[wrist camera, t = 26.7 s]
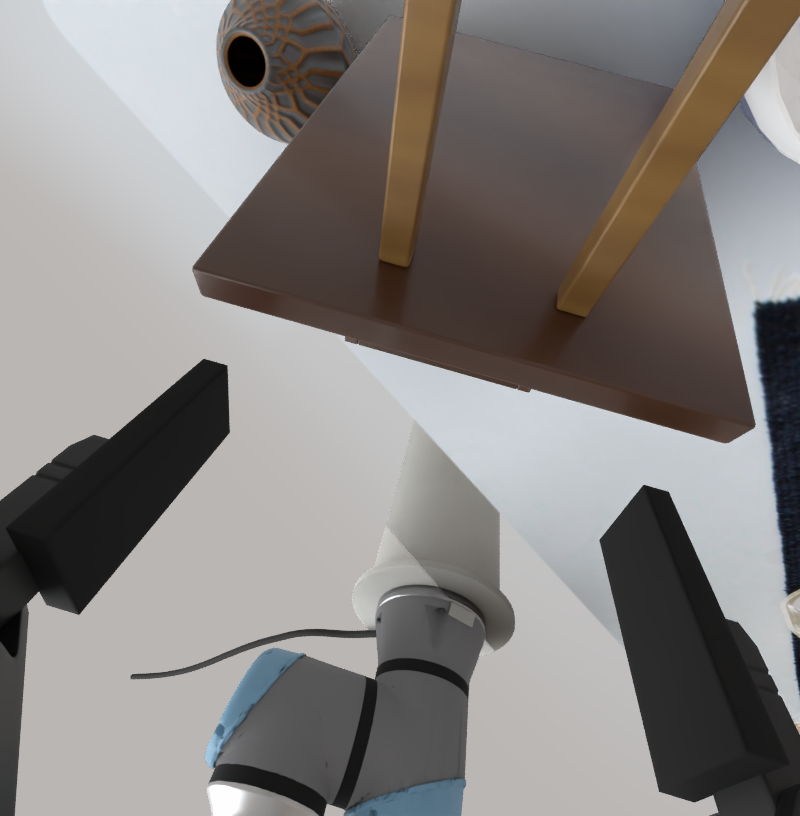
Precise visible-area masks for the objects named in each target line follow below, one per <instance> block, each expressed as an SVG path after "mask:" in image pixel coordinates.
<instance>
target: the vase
mask: <svg viewBox="0 0 800 816" xmlns="http://www.w3.org/2000/svg"><path fill="white" fill-rule="evenodd" d="M355 59H356V56H355V51H354V48H353V44H352V41H351V38H350V36H349V33H348V31H347V29H346V27H345V25H344V23H343V21H342V20H341V18H340V17H339V15H338V14H337V12H336V11H335V10H334V9H333V7H332V6H331V5H330V4H329V3H328V2H327V1H326V0H231V1H230V3H229V4H228V6H227V7H226V9H225V11H224V13H223V15H222V18H221V21H220V24H219V29H218V34H217V61H218V67H219V72H220V76H221V79H222V82H223V85H224V87H225V90H226V92H227V94H228V96H229V98H230V100H231V101H232V103H233V105H234V106H235V108H236V109H237V110H238V112H239V113H240V114H241V115H242V117H243V118H244V119H245V120H246V121H247V122H248V123H249V124H251V125H252V126H253V127H254V128H255V129H257V130H258V131H259V132H261V133H263V134H264V135H266V136H268V137H270V138H272V139H274V140H277V141H279V142H283V143H287V144H289V143H290V142H291V141H292V139H293V138H294V137H295V136H296V134H297V133H298V132H299V130H300V129H301V128H302V127H303V125H304V124H305V123H306V122H307V120H308V119H309V118H310V116H311V115H312V114H313V113H314V111H315V110H316V109H317V108H318V106H319V105H320V104H321V102H322V101H323V100H324V99H325V97H326V96H327V95H328V93H329V92H330V91H331V90H332V88H333V87H334V86H335V85H336V83H337V82H338V81H339V79H340V78H341V77H342V76H343V74H344V73H345V72H346V70H347V69H348V68H349V67H350V65H351V64H352V63H353V62H354V60H355Z"/></svg>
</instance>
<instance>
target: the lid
mask: <svg viewBox="0 0 800 816" xmlns="http://www.w3.org/2000/svg"><path fill="white" fill-rule="evenodd" d="M461 1H462V0H405V1H404V11H403V18H400V17H396V16H392V15H390V16H389V17H388V18H387V19H386V21H385V22H384V23H383V25H382V26H381V27H380V28H379V30H378V31H377V32H376V33H375V35H374V36H373V37H372V39H371V40H370V41H369V42H368V44H367V45H366V46H365V48H364V49H363V50H362V51H361V53H360V54H359V55H358V56H357V58H356V59H355V60H354V62H353V63H352V64H351V65H350V67H349V68H348V69H347V70H346V72H345V73H344V74H343V76H342V77H341V78H340V79H339V81H338V82H337V83H336V85H335V86H334V87H333V88H332V90H331V91H330V92H329V93H328V95H327V96H326V97H325V99H324V100H323V101H322V102H321V104H320V105H319V106H318V108H317V109H316V110H315V111H314V113H313V114H312V115H311V116H310V118H309V119H308V120H307V122H306V123H305V124H304V125H303V127H302V128H301V129H300V130H299V132H298V133H297V134H296V136H295V137H294V138H293V139H292V141H291V142H290V143H289V145H288V146H287V147H286V148H285V150H284V151H283V152H282V153H281V155H280V156H279V157H278V159H277V160H276V161H275V162H274V164H273V165H272V166H271V167H270V169H269V170H268V171H267V173H266V174H265V175H264V176H263V178H262V179H261V180H260V182H259V183H258V184H257V185H256V187H255V188H254V189H253V190H252V192H251V193H250V194H249V196H248V197H247V198H246V199H245V201H244V202H243V203H242V204H241V206H240V207H239V208H238V210H237V211H236V212H235V213H234V215H233V216H232V217H231V219H230V220H229V221H228V222H227V224H226V225H225V226H224V228H223V229H222V230H221V231H220V233H219V234H218V235H217V236H216V238H215V239H214V240H213V241H212V243H211V244H210V245H209V247H208V248H207V249H206V250H205V252H204V253H203V254H202V256H201V257H200V258H199V259H198V261H197V262H196V263H195V264H194V266H193V273H194V276H195V278H196V281H197V284H198V287H199V290H200V292H201V294H202V295H203V296H205V297H209V298H212V299H216V300H219V301H223V302H226V303H230V304H233V305H237V306H240V307H244V308H247V309H251V310H255V311H258V312H262V313H265V314H269V315H272V316H276V317H279V318H283V319H286V320H290V321H294V322H297V323H300V324H304V325H308V326H311V327H315V328H318V329H322V330H325V331H329V332H332V333H336V334H339V335H343V336H346V337H350V338H353V339H357V340H361V341H364V342H368V343H371V344H375V345H378V346H382V347H385V348H389V349H392V350H396V351H399V352H403V353H407V354H410V355H414V356H417V357H421V358H424V359H428V360H431V361H435V362H438V363H442V364H445V365H449V366H452V367H456V368H460V369H463V370H467V371H470V372H474V373H477V374H481V375H484V376H488V377H491V378H495V379H498V380H502V381H505V382H509V383H513V384H516V385H520V386H523V387H527V388H530V389H534V390H537V391H541V392H544V393H548V394H551V395H555V396H558V397H562V398H566V399H569V400H573V401H576V402H580V403H583V404H587V405H590V406H594V407H597V408H601V409H604V410H608V411H611V412H615V413H619V414H622V415H626V416H629V417H633V418H636V419H640V420H643V421H647V422H650V423H654V424H657V425H661V426H665V427H668V428H672V429H675V430H679V431H682V432H686V433H689V434H693V435H696V436H700V437H703V438H707V439H710V440H714V441H718V442H721V443H729V442H731V441H732V440H734V439H736V438H738V437H739V436H741V435H743V434H745V433H746V432H748V431H750V430H752V429H753V428H754V427H755V425H756V424H755V420H754V415H753V411H752V406H751V402H750V398H749V393H748V389H747V384H746V380H745V375H744V371H743V367H742V362H741V358H740V353H739V349H738V344H737V340H736V336H735V331H734V327H733V322H732V318H731V313H730V309H729V305H728V300H727V296H726V291H725V287H724V282H723V278H722V274H721V269H720V265H719V260H718V256H717V251H716V247H715V243H714V238H713V234H712V229H711V225H710V220H709V216H708V212H707V207H706V203H705V198H704V194H703V189H702V185H701V181H700V176H699V172H698V167H697V163H696V162H697V161H698V159H699V158H700V156H701V155H702V153H703V152H704V151H705V149H706V148H707V146H708V145H709V144H710V142H711V141H712V139H713V138H714V137H715V135H716V134H717V132H718V131H719V129H720V128H721V127H722V125H723V124H724V122H725V121H726V120H727V118H728V117H729V115H730V114H731V113H732V111H733V110H734V108H735V107H736V105H737V104H738V103H739V101H740V100H741V98H742V97H743V96H744V94H745V93H746V91H747V90H748V89H749V87H750V86H751V84H752V83H753V81H754V80H755V79H756V77H757V76H758V74H759V73H760V72H761V70H762V69H763V67H764V66H765V65H766V63H767V62H768V60H769V59H770V58H771V56H772V55H773V53H774V52H775V50H776V49H777V48H778V46H779V45H780V43H781V42H782V41H783V39H784V38H785V36H786V35H787V34H788V32H789V31H790V29H791V28H792V26H793V25H794V24H795V22H796V21H797V19H798V18H799V17H800V0H726V1H725V3H724V4H723V6H722V8H721V10H720V11H719V13H718V15H717V16H716V18H715V20H714V22H713V23H712V25H711V27H710V28H709V30H708V32H707V34H706V35H705V37H704V39H703V41H702V42H701V44H700V46H699V47H698V49H697V51H696V53H695V54H694V56H693V58H692V59H691V61H690V63H689V65H688V66H687V68H686V70H685V71H684V73H683V75H682V77H681V78H680V80H679V82H678V84H677V85H676V87H675V89H671V88H667V87H664V86H660V85H656V84H652V83H648V82H645V81H641V80H637V79H633V78H629V77H625V76H622V75H618V74H614V73H610V72H606V71H602V70H599V69H595V68H591V67H587V66H583V65H580V64H576V63H572V62H568V61H564V60H560V59H557V58H553V57H549V56H545V55H541V54H537V53H534V52H530V51H526V50H522V49H518V48H515V47H511V46H507V45H503V44H499V43H495V42H492V41H488V40H484V39H480V38H476V37H472V36H469V35H465V34H461V33H457V32H456V28H457V23H458V17H459V12H460V7H461Z"/></svg>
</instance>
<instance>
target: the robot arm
mask: <svg viewBox="0 0 800 816" xmlns="http://www.w3.org/2000/svg"><path fill="white" fill-rule="evenodd" d="M227 371H228V370H227V365H224V364H220V363H217V362H213V361H210V360H206V359H203V360H202V361H201V362H200V363H198V364H197V365H196V366H195V367H194V368H192V369H191V370H190V371H189V372H188V373H187V374H185V375H184V376H183V377H182V378H181V379H180V380H178V381H177V382H176V383H175V384H174V385H172V386H171V387H170V388H169V389H168V390H167V391H165V392H164V393H163V394H162V395H161V396H160V397H158V398H157V399H156V400H155V401H154V402H153V403H151V404H150V405H149V406H148V407H147V408H145V409H144V410H143V411H142V412H141V413H140V414H138V415H137V416H136V417H135V418H134V419H133V420H131V421H130V422H129V423H128V424H127V425H126V426H124V427H123V428H122V429H121V430H120V431H119V432H117V433H116V434H115V435H114V436H113V437H111V438H110V439H106V438H102V437H100V436H96V435H93V436H90V437H88V438H86V439H84V440H82V441H79V442H77V443H75V444H72V445H70V446H69V447H68V448H66V449H65V450H64V451H63V452H61V453H60V454H59V455H58V456H56V457H55V458H54V459H53V460H52V462H51V463H48V464H46V465H45V466H44V467H42V468H41V469H40V470H39V471H38V472H37V473H36V475H35V476H34V475H32V476H31V477H30V478H29V479H27V480H26V481H25V482H23V483H22V484H21V485H20V486H18V487H17V488H16V489H14V490H13V491H12V492H11V493H9V494H8V495H7V496H6V497H4V498H3V499H2V500H1V501H0V816H15V801H16V787H17V773H18V759H19V744H20V730H21V715H22V701H23V687H24V672H25V658H26V643H27V628H28V614H29V612H28V608H27V603H28V602H29V601H30V600H31V599H32V598H33V597H34V596H35V595H36V594H37V593H38V592H40V594H41V596H42V597H43V599H44V601H45V603H46V604H47V605H49V606H52V607H55V608H58V609H62V610H65V611H68V612H72V613H75V614H78V615H79V614H80V613H81V612H82V611H83V609H84V608H85V607H86V606H87V605H88V603H89V602H90V601H91V600H92V598H93V597H94V596H95V595H96V594H97V592H98V591H99V590H100V589H101V588H102V586H103V585H104V584H105V583H106V582H107V580H108V579H109V578H110V577H111V575H112V574H113V573H114V572H115V570H117V568H118V567H119V566H120V565H121V563H122V562H123V561H124V560H125V559H126V557H127V556H128V555H129V554H130V553H131V551H132V550H133V549H134V548H135V547H136V545H137V544H138V543H139V542H140V540H141V539H142V538H143V537H144V535H145V534H146V533H147V532H148V531H149V530H150V528H151V527H152V526H153V525H154V524H155V522H156V521H157V520H158V519H159V517H160V516H161V515H162V514H163V513H164V511H165V510H166V509H167V508H168V507H169V505H170V504H171V503H172V502H173V500H174V499H175V498H176V497H177V496H178V494H179V493H180V492H181V491H182V490H183V488H184V487H185V486H186V485H187V484H188V482H189V481H190V480H191V479H192V478H193V476H194V475H195V474H196V473H197V471H198V470H199V469H200V468H201V467H202V465H203V464H204V463H205V462H206V461H207V459H208V458H209V457H210V456H211V455H212V453H213V452H214V451H215V450H216V449H217V447H218V446H219V445H220V444H221V442H222V441H223V440H224V439H225V438H226V436H227V435H228V434H229V433H230V429H229V400H228V372H227ZM600 544H601V548H602V553H603V557H604V561H605V565H606V569H607V574H608V578H609V582H610V586H611V590H612V595H613V599H614V603H615V607H616V611H617V616H618V620H619V624H620V628H621V633H622V637H623V641H624V645H625V649H626V654H627V658H628V662H629V666H630V670H631V675H632V679H633V683H634V687H635V692H636V696H637V700H638V704H639V708H640V712H641V716H642V720H643V725H644V729H645V733H646V738H647V742H648V746H649V750H650V755H651V759H652V763H653V767H654V772H655V776H656V780H657V784H658V788H659V792H662V793H666V794H669V795H672V796H675V797H678V798H682V799H685V800H688V801H692V802H697V801H699V800H702V799H704V798H707V797H709V796H712V795H713V796H714V799H715V802H716V805H717V808H718V811H719V813H716V814H713V815H710V816H800V735H799V733H798V730H797V728H796V726H795V724H794V722H793V720H792V718H791V716H790V714H789V712H788V710H787V708H786V706H785V704H784V701H783V699H782V697H781V696H779V695H778V689H777V687H776V685H775V683H774V681H773V679H772V677H771V675H768V671H769V670H768V668H767V666H766V664H765V662H764V660H763V658H762V656H761V654H760V652H759V650H758V648H757V646H756V645H755V643H754V642H753V641H752V639H751V638H750V637H749V636H748V634H747V633H746V632H745V631H744V629H743V628H742V627H741V625H740V624H739V623H738V622H735V621H731V620H728V619H725V617H724V614H723V612H722V610H721V608H720V606H719V603H718V601H717V599H716V597H715V594H714V592H713V590H712V588H711V585H710V583H709V581H708V579H707V577H706V574H705V572H704V570H703V568H702V565H701V563H700V561H699V559H698V556H697V554H696V552H695V550H694V547H693V545H692V543H691V541H690V539H689V536H688V534H687V532H686V530H685V527H684V525H683V523H682V521H681V518H680V516H679V514H678V512H677V509H676V507H675V505H674V503H673V501H672V498H671V496H670V494H669V492H667V491H664V490H660V489H657V488H653V487H650V486H646V485H643V486H642V487H641V489H640V490H639V491H638V492H637V494H636V495H635V496H634V498H633V499H632V500H631V501H630V503H629V504H628V505H627V506H626V508H625V509H624V510H623V511H622V513H621V514H620V515H619V516H618V518H617V519H616V520H615V521H614V523H613V524H612V525H611V526H610V528H609V529H608V530H607V531H606V533H605V534H604V535H603V536H602V538H601V539H600ZM375 624H376V630H367V631H341V630H327V629H305V630H297V631H291V632H287V633H283V634H279V635H275V636H271V637H267V638H264V639H260V640H257V641H254V642H251V643H248V644H246V645H243V646H240V647H238V648H236V649H233V650H231V651H228V652H226V653H223V654H221V655H219V656H216V657H214V658H212V659H209V660H207V661H204V662H202V663H199V664H196V665H193V666H190V667H186V668H183V669H179V670H174V671H168V672H161V673H149V674H132V675H131V679H150V678H161V677H168V676H174V675H179V674H184V673H187V672H191V671H195V670H198V669H200V668H203V667H206V666H209V665H211V664H214V663H216V662H219V661H221V660H223V659H226V658H228V657H231V656H233V655H236V654H238V653H241V652H243V651H246V650H249V649H252V648H255V647H258V646H262V645H265V644H269V643H272V642H277V641H281V640H285V639H289V638H294V637H301V636H328V637H342V638H364V637H365V638H367V637H376V638H377V651H378V668H377V672H376V677H375V680H374V679H371V678H368V677H366V676H363V675H360V674H356V673H354V672H351V671H348V670H345V669H342V668H339V667H336V666H333V665H330V664H327V663H325V662H322V661H319V660H316V659H314V658H311V657H308V656H306V654H304V653H300V654H298V653H294V652H290V651H286V650H283V649H278V648H272V649H268V650H267V651H265V652H264V653H262V654H261V655H260V656H259V657H258V658H257V659H256V660H255V661H254V663H253V664H252V665H251V667H250V668H249V670H248V671H247V673H246V674H245V676H244V678H243V679H242V681H241V682H240V684H239V686H238V687H237V689H236V691H235V692H234V694H233V696H232V698H231V700H230V701H229V703H228V705H227V707H226V709H225V711H224V713H223V715H222V717H221V719H220V723H219V724H218V726H217V728H216V730H215V732H214V734H213V736H212V738H211V740H210V742H209V745H208V748H207V751H206V755H205V759H206V763H208V764H209V767H210V768H212V769H213V768H215V770H214V772H213V775H212V777H211V780H210V782H209V784H208V786H207V789H206V790H207V794H208V799H209V803H210V807H211V816H324V813H325V808H326V805H327V804H329V805H333V806H336V807H339V808H342V809H344V810H345V811H346V812H345V813H344V816H461V811H462V800H463V789H464V788H465V786H466V780H465V760H466V738H467V717H468V694H469V682H470V679H471V676H472V674H473V671H474V668H475V666H476V663H477V660H478V657H479V654H480V651H481V649H482V647H483V644H484V640H485V635H486V621H485V617H484V615H483V613H482V612H481V610H480V609H479V608H478V607H477V606H476V605H475V604H474V603H473V602H471V601H470V600H468V599H467V598H465V597H463V596H462V595H460V594H457V593H455V592H453V591H450V590H447V589H444V588H440V587H435V586H429V585H405V586H400V587H396V588H393V589H391V590H389V591H388V592H386V593H385V594H384V595H383V596H382V597H381V598H380V600H379V602H378V606H377V611H376V616H375Z"/></svg>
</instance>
